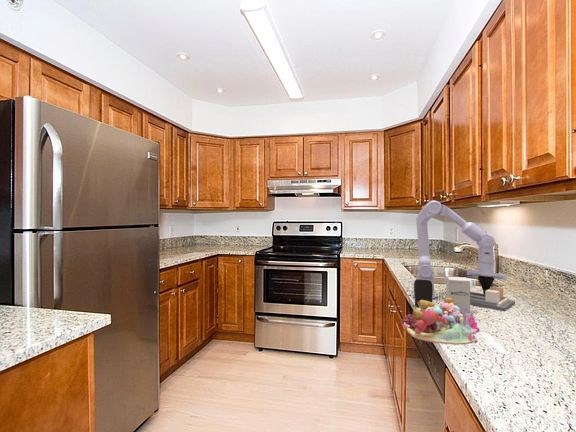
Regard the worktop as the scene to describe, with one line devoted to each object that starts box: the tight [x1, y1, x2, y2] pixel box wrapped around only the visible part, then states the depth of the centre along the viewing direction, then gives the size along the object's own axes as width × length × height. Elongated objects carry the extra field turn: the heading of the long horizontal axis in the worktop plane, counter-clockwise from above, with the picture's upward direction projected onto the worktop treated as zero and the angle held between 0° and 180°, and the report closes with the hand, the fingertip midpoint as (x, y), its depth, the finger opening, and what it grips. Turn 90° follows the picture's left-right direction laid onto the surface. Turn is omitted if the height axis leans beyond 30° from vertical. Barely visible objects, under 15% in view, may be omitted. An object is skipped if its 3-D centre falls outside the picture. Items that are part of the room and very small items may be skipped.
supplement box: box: [445, 275, 471, 314], centre depth 121 cm, size 7×7×13 cm
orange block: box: [489, 286, 504, 300], centre depth 131 cm, size 4×4×5 cm
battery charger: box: [413, 277, 434, 308], centre depth 127 cm, size 7×4×11 cm, turn 66°
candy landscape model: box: [400, 297, 480, 345], centre depth 102 cm, size 25×24×9 cm
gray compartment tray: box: [470, 291, 516, 312], centre depth 132 cm, size 15×19×2 cm
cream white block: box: [485, 289, 500, 303], centre depth 126 cm, size 4×4×5 cm
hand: (486, 294), depth 133 cm, fingers closed
